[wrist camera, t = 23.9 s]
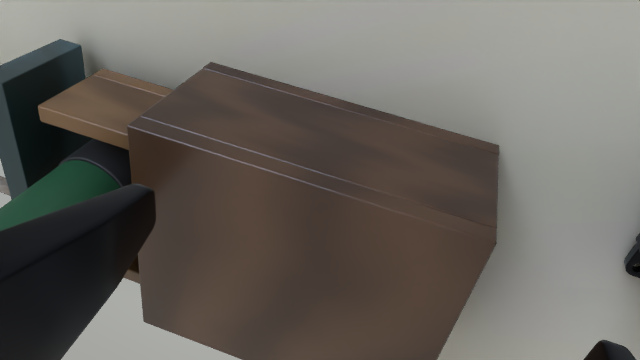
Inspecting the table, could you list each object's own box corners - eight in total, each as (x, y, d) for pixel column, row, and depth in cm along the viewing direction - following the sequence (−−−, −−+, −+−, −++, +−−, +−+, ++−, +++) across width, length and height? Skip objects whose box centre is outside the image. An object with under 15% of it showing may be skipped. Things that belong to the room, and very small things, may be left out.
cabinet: (205, 239, 30) (142, 322, 25) (210, 61, 23) (125, 124, 18) (423, 315, 28) (405, 422, 23) (499, 145, 21) (497, 243, 16)
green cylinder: (136, 117, 24) (-141, 325, 14) (180, 187, 26) (-37, 418, 15) (81, 138, 26) (-199, 334, 16) (126, 201, 28) (-101, 416, 17)
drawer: (20, 179, 31) (-48, 226, 27) (-22, 14, 25) (-117, 45, 21) (277, 269, 28) (242, 335, 25) (302, 110, 22) (260, 165, 19)
